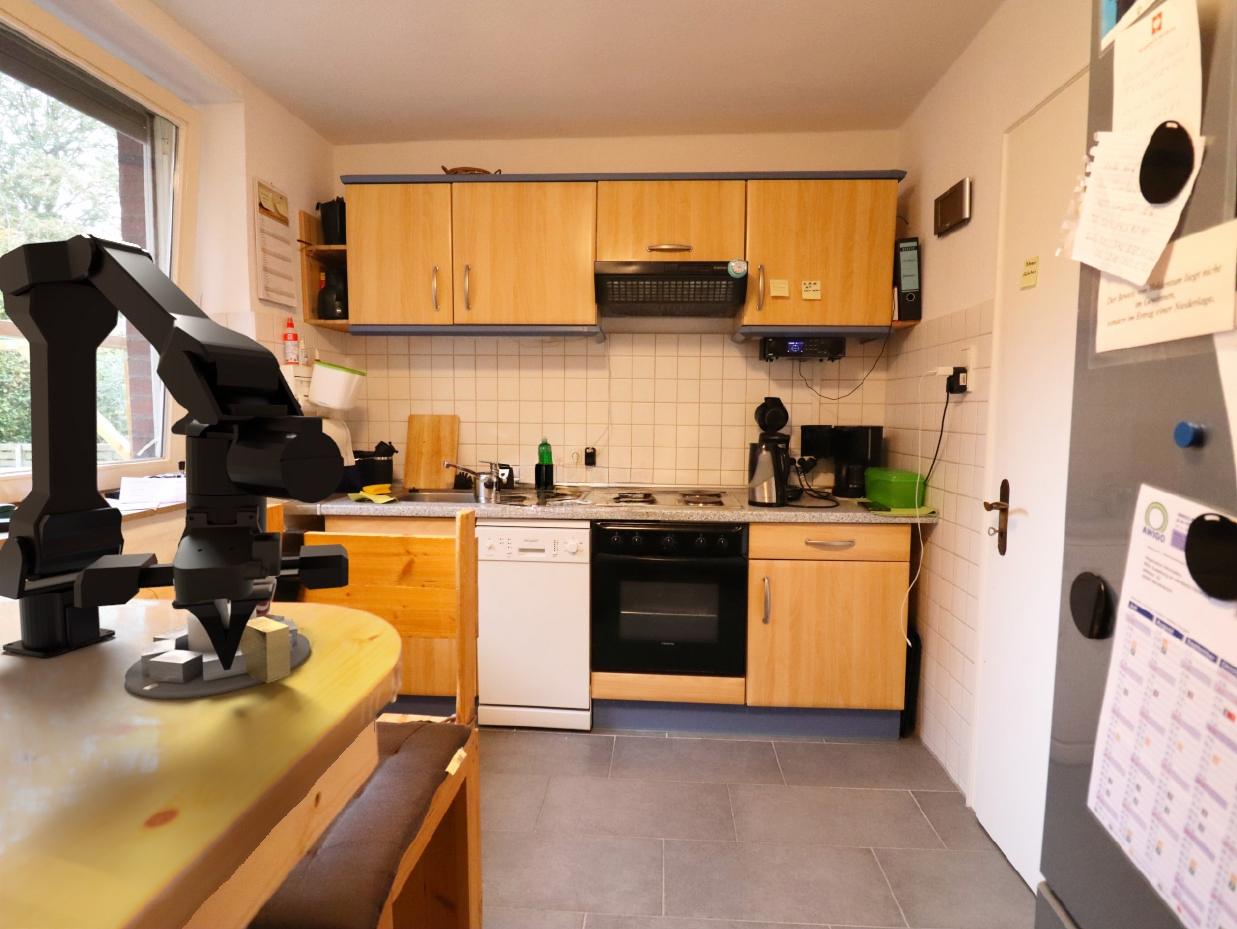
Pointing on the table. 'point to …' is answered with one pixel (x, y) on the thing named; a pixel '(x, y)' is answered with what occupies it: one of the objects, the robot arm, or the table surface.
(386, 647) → the table surface
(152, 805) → the table surface
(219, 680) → the housing
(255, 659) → the grey tan block cluster
